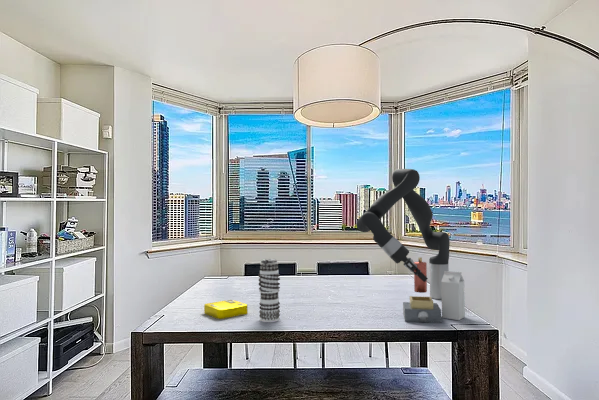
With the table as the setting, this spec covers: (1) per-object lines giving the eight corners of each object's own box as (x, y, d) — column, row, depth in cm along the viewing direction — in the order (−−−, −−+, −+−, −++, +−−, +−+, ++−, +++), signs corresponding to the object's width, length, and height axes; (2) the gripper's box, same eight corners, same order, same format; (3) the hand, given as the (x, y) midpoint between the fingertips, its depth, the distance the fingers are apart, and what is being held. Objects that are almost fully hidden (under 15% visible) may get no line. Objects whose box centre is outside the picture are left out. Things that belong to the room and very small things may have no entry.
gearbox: (403, 313, 176) (402, 295, 177) (437, 315, 174) (436, 296, 174) (405, 322, 163) (404, 302, 164) (441, 323, 161) (441, 303, 161)
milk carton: (447, 314, 175) (447, 269, 175) (465, 317, 170) (464, 271, 171) (441, 317, 169) (440, 271, 170) (459, 320, 165) (458, 273, 165)
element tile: (202, 313, 182) (202, 303, 182) (231, 308, 192) (231, 298, 192) (219, 320, 171) (218, 309, 171) (249, 314, 180) (249, 303, 180)
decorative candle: (260, 323, 164) (260, 261, 165) (256, 317, 173) (256, 258, 174) (283, 321, 167) (282, 260, 167) (277, 315, 176) (277, 257, 176)
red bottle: (413, 290, 172) (413, 256, 173) (426, 290, 171) (425, 257, 172) (414, 292, 167) (414, 258, 168) (427, 292, 167) (427, 258, 167)
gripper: (402, 245, 164) (434, 275, 162) (400, 242, 178) (429, 270, 176) (389, 258, 165) (420, 288, 163) (388, 254, 179) (417, 282, 177)
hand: (425, 279), depth 169 cm, fingers closed on red bottle, 5 cm apart
